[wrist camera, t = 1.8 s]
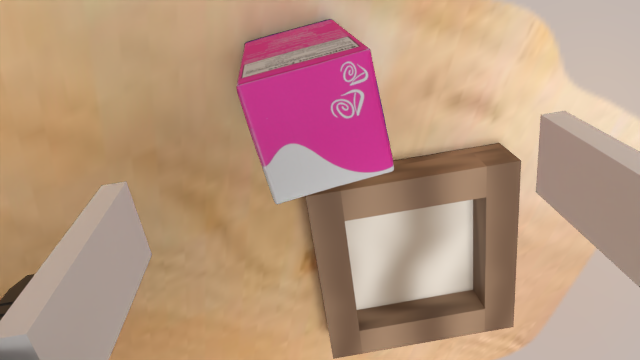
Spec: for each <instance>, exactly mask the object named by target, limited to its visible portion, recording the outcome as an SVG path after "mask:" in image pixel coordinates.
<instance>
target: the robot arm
mask: <svg viewBox="0 0 640 360" xmlns="http://www.w3.org/2000/svg"><path fill="white" fill-rule="evenodd" d="M536 193H538V194H539V195H540V196H541V197H542V198H543V199H544V200H545V201H546V202H547V203H548V204H550V205H551V206H552V207H553V208H554V209H555V210H556V211H557V212H558V213H559V214H560V215H561V216H563V217H564V218H565V219H566V220H567V221H568V222H569V223H570V224H571V225H572V226H573V227H575V228H576V229H577V230H578V231H579V232H580V233H581V234H582V235H583V236H584V237H585V238H587V239H588V240H589V241H590V242H591V243H592V244H593V245H594V246H595V247H596V248H597V249H599V250H600V251H601V252H602V253H603V254H604V255H605V256H606V257H607V258H608V259H609V260H611V261H612V262H613V263H614V264H615V265H616V266H617V267H618V268H619V269H620V270H621V271H622V272H624V273H625V274H626V275H627V276H628V277H629V278H630V279H631V280H632V281H634V282H635V283H636V284H637V285H638V286H639V287H640V152H639V151H637V150H635V149H633V148H632V147H630V146H628V145H626V144H624V143H622V142H621V141H619V140H617V139H615V138H613V137H611V136H610V135H608V134H606V133H604V132H602V131H600V130H599V129H597V128H595V127H593V126H591V125H589V124H588V123H586V122H584V121H582V120H580V119H578V118H577V117H575V116H573V115H571V114H569V113H567V112H566V111H562V112H555V113H549V114H543V115H541V121H540V136H539V152H538V167H537V183H536ZM151 256H152V253H151V250H150V248H149V245H148V242H147V239H146V236H145V233H144V230H143V228H142V225H141V222H140V219H139V216H138V213H137V210H136V208H135V205H134V202H133V199H132V196H131V193H130V190H129V188H128V185H127V182H120V183H114V184H107V185H102V186H101V187H100V188H99V190H98V191H97V192H96V194H95V195H94V196H93V198H92V199H91V200H90V202H89V203H88V204H87V206H86V207H85V208H84V210H83V211H82V212H81V214H80V215H79V216H78V218H77V219H76V220H75V222H74V223H73V224H72V226H71V227H70V228H69V230H68V231H67V232H66V234H65V235H64V236H63V238H62V239H61V240H60V242H59V243H58V244H57V246H56V247H55V248H54V250H53V251H52V252H51V254H50V255H49V256H48V258H47V259H46V260H45V262H44V263H43V264H42V266H41V267H40V268H39V270H38V271H37V272H36V274H33V275H27V276H26V277H25V278H23V279H22V280H21V281H20V282H18V283H17V284H16V285H14V286H13V287H12V288H10V289H9V290H8V292H7V293H6V294H5V295H4V297H3V298H2V299H1V300H0V360H109V358H110V355H111V353H112V350H113V348H114V346H115V343H116V341H117V338H118V336H119V333H120V331H121V329H122V326H123V324H124V321H125V319H126V317H127V314H128V312H129V309H130V307H131V304H132V302H133V300H134V297H135V295H136V292H137V290H138V287H139V285H140V283H141V280H142V278H143V275H144V273H145V270H146V268H147V266H148V263H149V261H150V258H151Z"/></svg>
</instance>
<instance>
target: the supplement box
mask: <svg viewBox="0 0 640 360" xmlns="http://www.w3.org/2000/svg"><path fill="white" fill-rule="evenodd" d="M237 93H238V96H239V99H240V102H241V106H242V109H243V112H244V115H245V118H246V121H247V124H248V127H249V130H250V133H251V136H252V139H253V142H254V145H255V148H256V151H257V154H258V156H259V159H260V162H261V165H262V168H263V171H264V174H265V177H266V180H267V182H268V185H269V188H270V191H271V194H272V197H273V200H274V202H275V203H276V204H280V203H283V202H286V201H290V200H293V199H297V198H300V197H303V196H307V195H310V194H313V193H317V192H320V191H324V190H327V189H330V188H334V187H337V186H341V185H345V184H348V183H352V182H356V181H359V180H363V179H367V178H370V177H374V176H378V175H381V174H384V173H389V172H392V171H393V170H394V164H393V158H392V153H391V149H390V143H389V138H388V134H387V129H386V124H385V119H384V114H383V110H382V105H381V100H380V96H379V91H378V86H377V81H376V76H375V71H374V67H373V62H372V57H371V52H370V49H369V48H368V47H366V46H365V45H364V44H362V43H361V42H360V41H359V40H357V39H356V38H355V37H354V36H352V35H351V34H349V33H348V32H347V31H346V30H344V29H343V28H342V27H341V26H339V25H338V24H337V23H336V22H334V21H333V20H332V19H329V20H325V21H321V22H318V23H314V24H310V25H307V26H303V27H299V28H295V29H292V30H288V31H284V32H281V33H277V34H273V35H270V36H266V37H263V38H259V39H256V40H252V41H249V42H246V43H245V47H244V53H243V57H242V62H241V67H240V72H239V77H238V81H237Z"/></svg>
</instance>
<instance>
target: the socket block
mask: <svg viewBox="0 0 640 360" xmlns="http://www.w3.org/2000/svg"><path fill="white" fill-rule="evenodd" d="M393 164H394V170H393V171H392V172H389V173H384V174H381V175H378V176H374V177H370V178H367V179H363V180H359V181H356V182H352V183H348V184H345V185H341V186H337V187H334V188H330V189H327V190H324V191H320V192H317V193H313V194H310V195H307V196H306V202H307V208H308V214H309V219H310V225H311V231H312V237H313V243H314V249H315V254H316V260H317V266H318V272H319V278H320V284H321V289H322V295H323V301H324V307H325V313H326V318H327V324H328V330H329V336H330V342H331V348H332V353H333V359H334V358H340V357H345V356H351V355H357V354H362V353H368V352H374V351H379V350H385V349H391V348H396V347H402V346H408V345H413V344H419V343H425V342H430V341H436V340H442V339H447V338H453V337H459V336H464V335H470V334H476V333H481V332H487V331H493V330H498V329H504V328H510V327H513V323H514V302H515V280H516V258H517V237H518V215H519V193H520V171H521V160H520V159H518V158H517V157H516V156H515V155H513V154H512V153H511V152H510V151H508V150H507V149H506V148H505V147H504V146H502V145H501V144H500V143H498V144H492V145H486V146H480V147H474V148H468V149H462V150H456V151H450V152H443V153H437V154H431V155H425V156H419V157H413V158H407V159H401V160H395V161H393Z"/></svg>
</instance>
